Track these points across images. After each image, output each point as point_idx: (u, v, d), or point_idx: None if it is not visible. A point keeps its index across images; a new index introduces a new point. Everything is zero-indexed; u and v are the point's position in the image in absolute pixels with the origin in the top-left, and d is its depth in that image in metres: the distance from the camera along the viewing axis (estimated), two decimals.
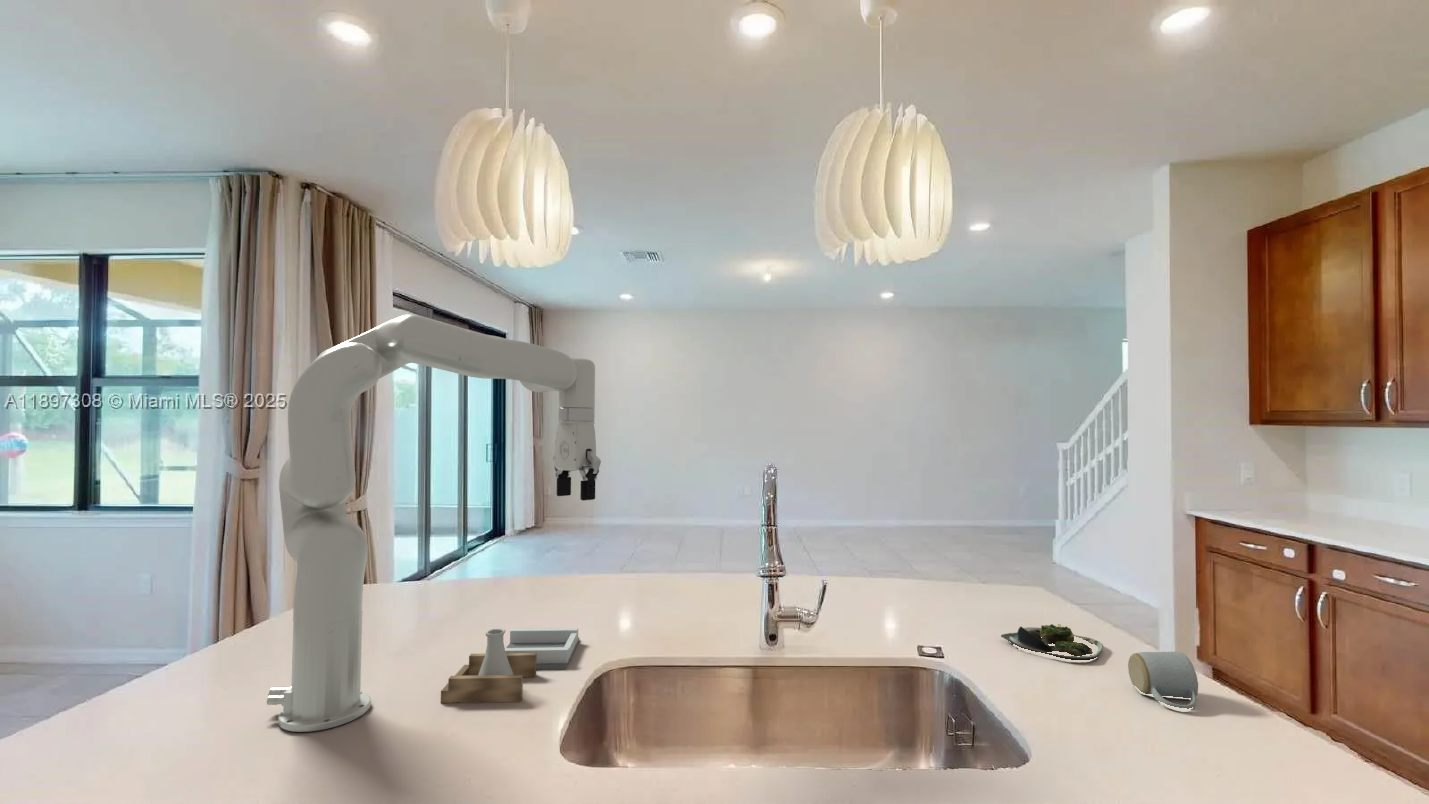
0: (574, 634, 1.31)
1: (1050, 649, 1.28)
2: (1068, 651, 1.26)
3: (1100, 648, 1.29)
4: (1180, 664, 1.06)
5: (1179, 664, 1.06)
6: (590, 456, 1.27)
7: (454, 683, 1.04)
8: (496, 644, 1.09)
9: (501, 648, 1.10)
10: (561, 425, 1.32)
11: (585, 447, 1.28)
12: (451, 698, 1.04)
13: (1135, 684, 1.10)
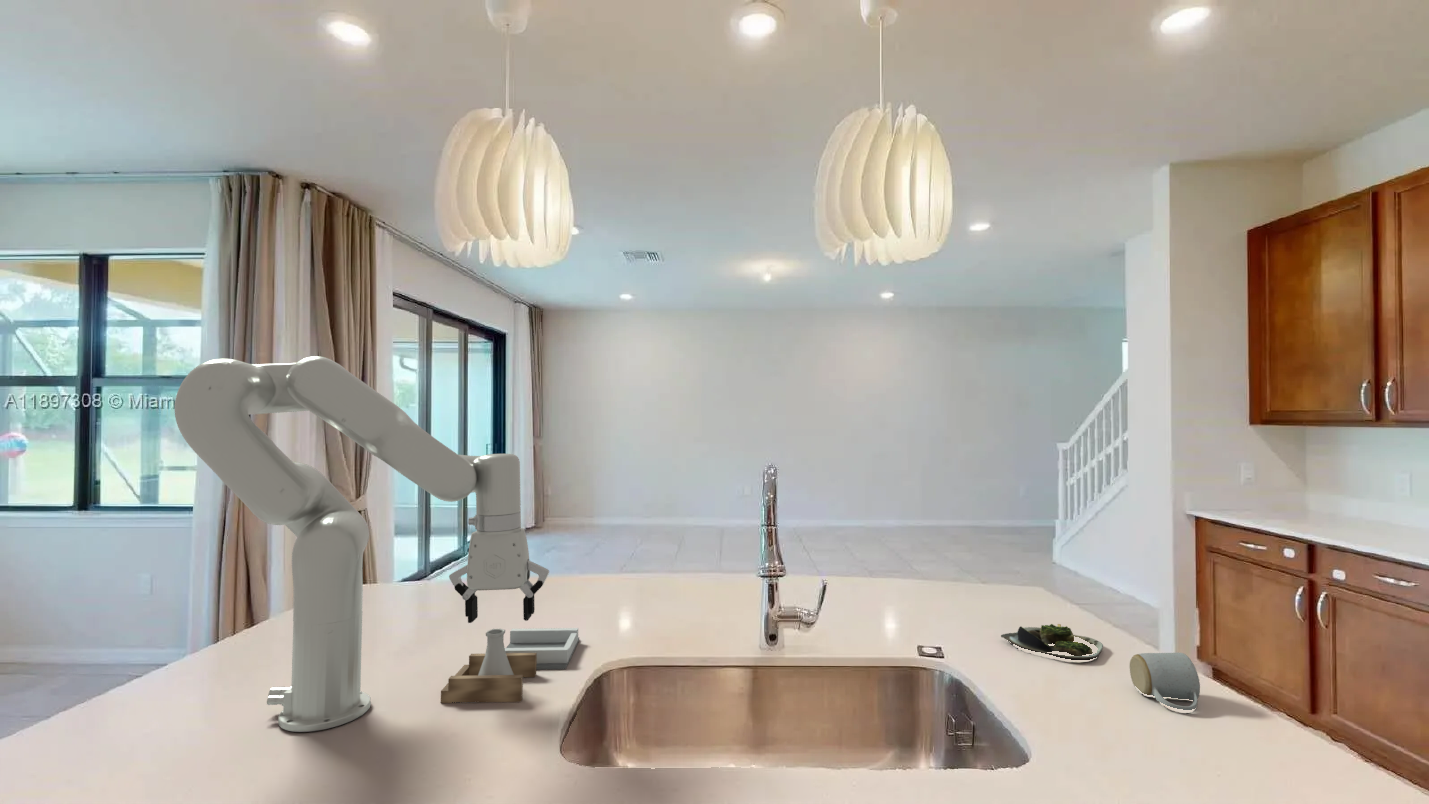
0: (574, 634, 1.31)
1: (1050, 649, 1.28)
2: (1068, 651, 1.26)
3: (1100, 648, 1.29)
4: (1182, 665, 1.06)
5: (1181, 665, 1.06)
6: (536, 568, 1.11)
7: (454, 683, 1.04)
8: (496, 644, 1.09)
9: (501, 648, 1.10)
10: (484, 536, 1.09)
11: (526, 558, 1.11)
12: (451, 698, 1.04)
13: (1136, 685, 1.10)
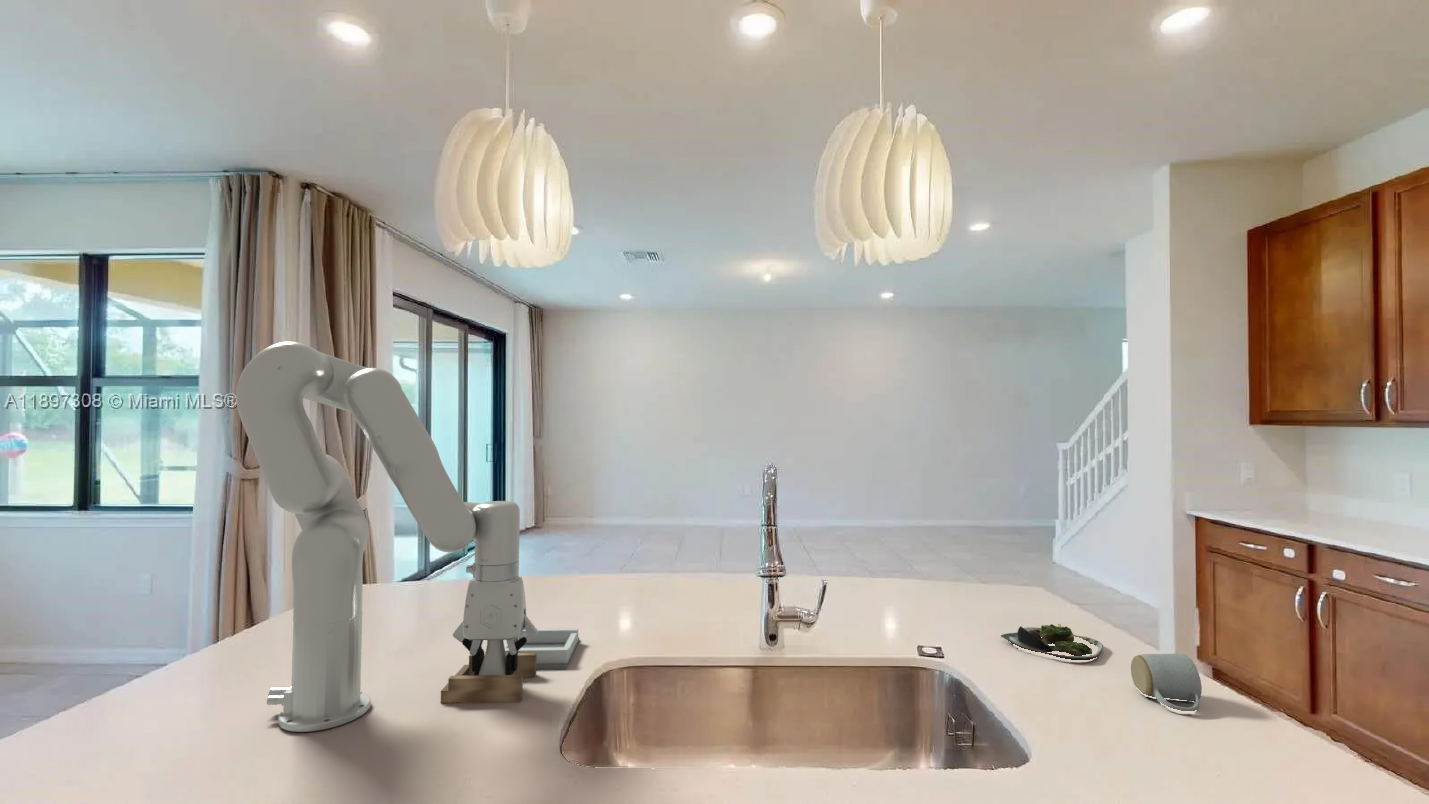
0: (574, 634, 1.31)
1: (1050, 649, 1.28)
2: (1068, 651, 1.26)
3: (1100, 648, 1.29)
4: (1183, 666, 1.05)
5: (1182, 666, 1.05)
6: (527, 624, 1.10)
7: (454, 683, 1.04)
8: (496, 644, 1.09)
9: (501, 648, 1.10)
10: (482, 585, 1.08)
11: (523, 608, 1.10)
12: (451, 698, 1.04)
13: (1138, 686, 1.09)
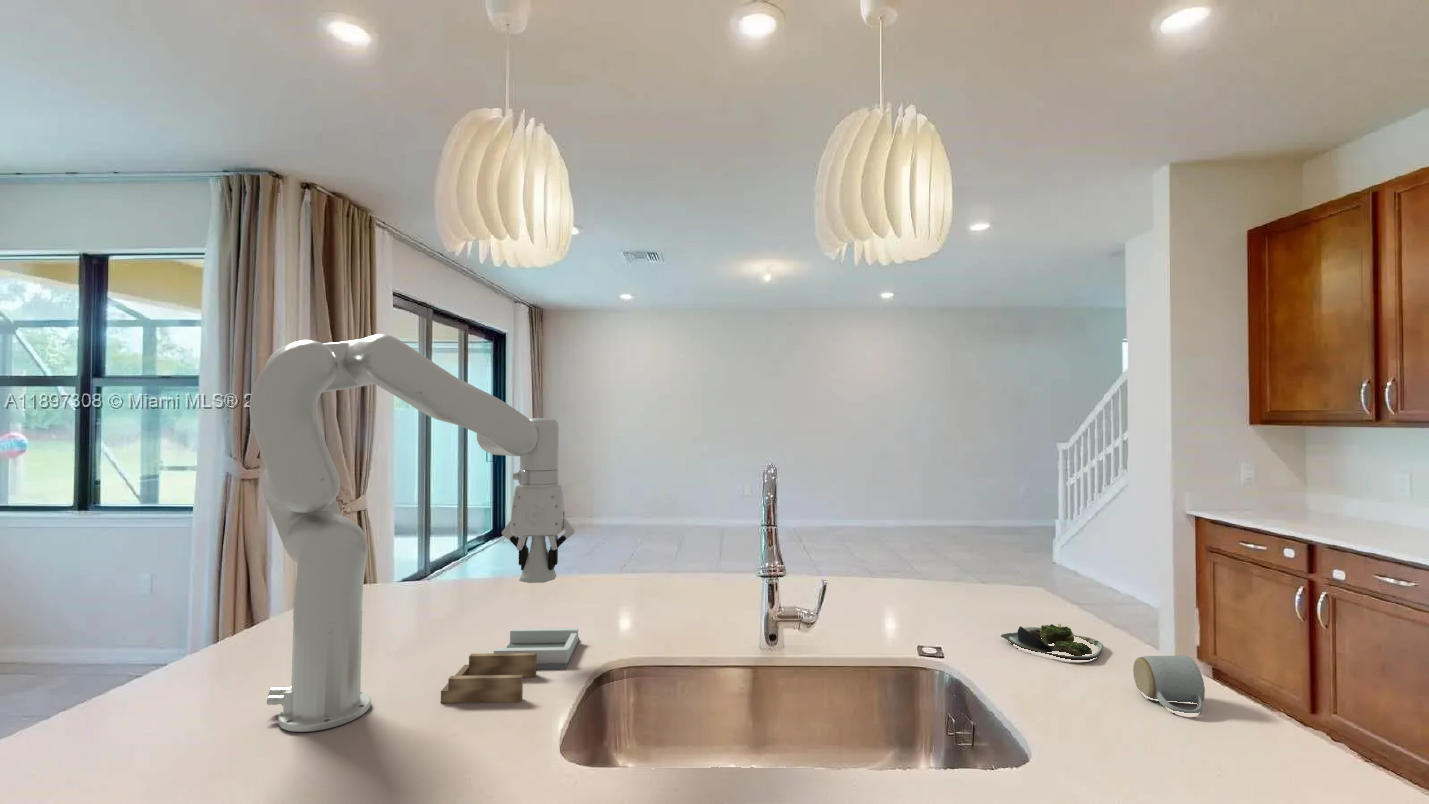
0: (574, 634, 1.31)
1: (1050, 649, 1.28)
2: (1068, 651, 1.26)
3: (1100, 648, 1.29)
4: (1186, 668, 1.04)
5: (1185, 668, 1.05)
6: (566, 524, 1.26)
7: (454, 683, 1.04)
8: (539, 541, 1.25)
9: (544, 544, 1.26)
10: (527, 489, 1.24)
11: (562, 510, 1.26)
12: (451, 698, 1.04)
13: (1140, 688, 1.08)
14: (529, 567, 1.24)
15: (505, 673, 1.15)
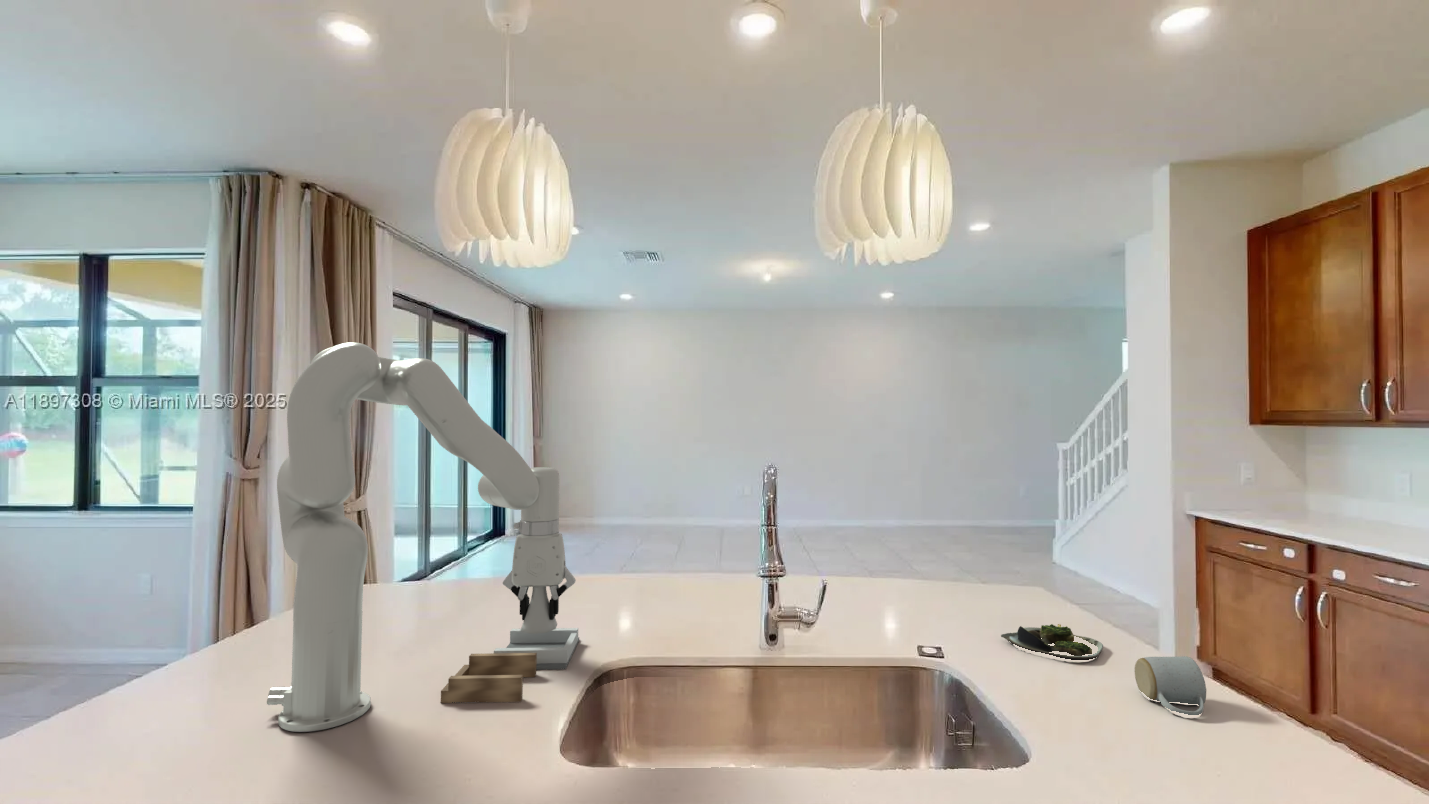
0: (574, 634, 1.31)
1: (1050, 649, 1.28)
2: (1068, 651, 1.26)
3: (1100, 648, 1.29)
4: (1188, 669, 1.04)
5: (1187, 669, 1.04)
6: (567, 574, 1.27)
7: (454, 683, 1.04)
8: (540, 590, 1.26)
9: (544, 594, 1.26)
10: (528, 539, 1.25)
11: (563, 559, 1.27)
12: (451, 698, 1.04)
13: (1141, 689, 1.08)
14: (530, 618, 1.25)
15: (505, 673, 1.15)
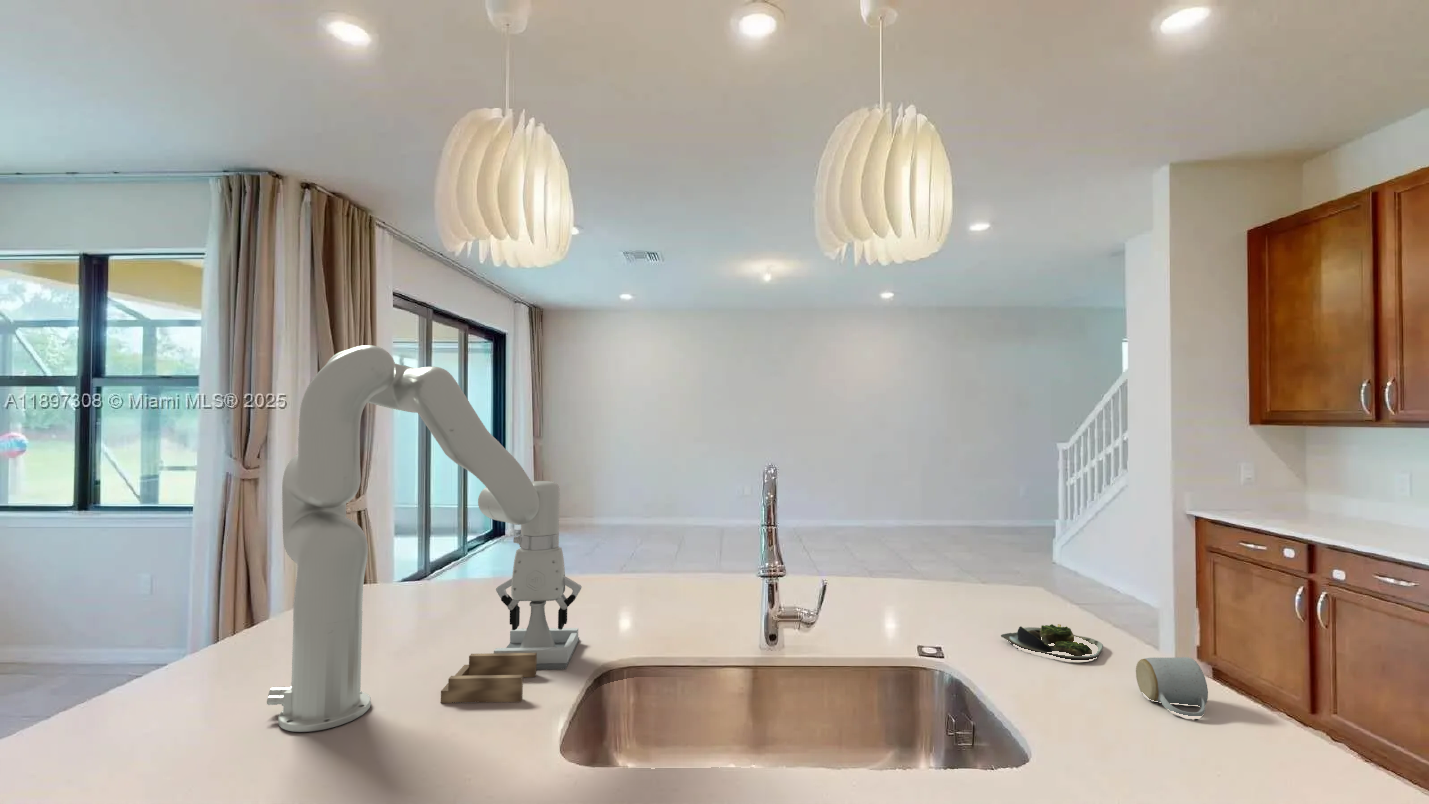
0: (574, 634, 1.31)
1: (1050, 649, 1.28)
2: (1068, 651, 1.26)
3: (1100, 648, 1.29)
4: (1189, 670, 1.04)
5: (1188, 670, 1.04)
6: (571, 583, 1.27)
7: (454, 683, 1.04)
8: (538, 613, 1.25)
9: (543, 616, 1.26)
10: (528, 553, 1.25)
11: (563, 574, 1.27)
12: (451, 698, 1.04)
13: (1143, 690, 1.08)
14: (528, 640, 1.24)
15: (505, 673, 1.15)
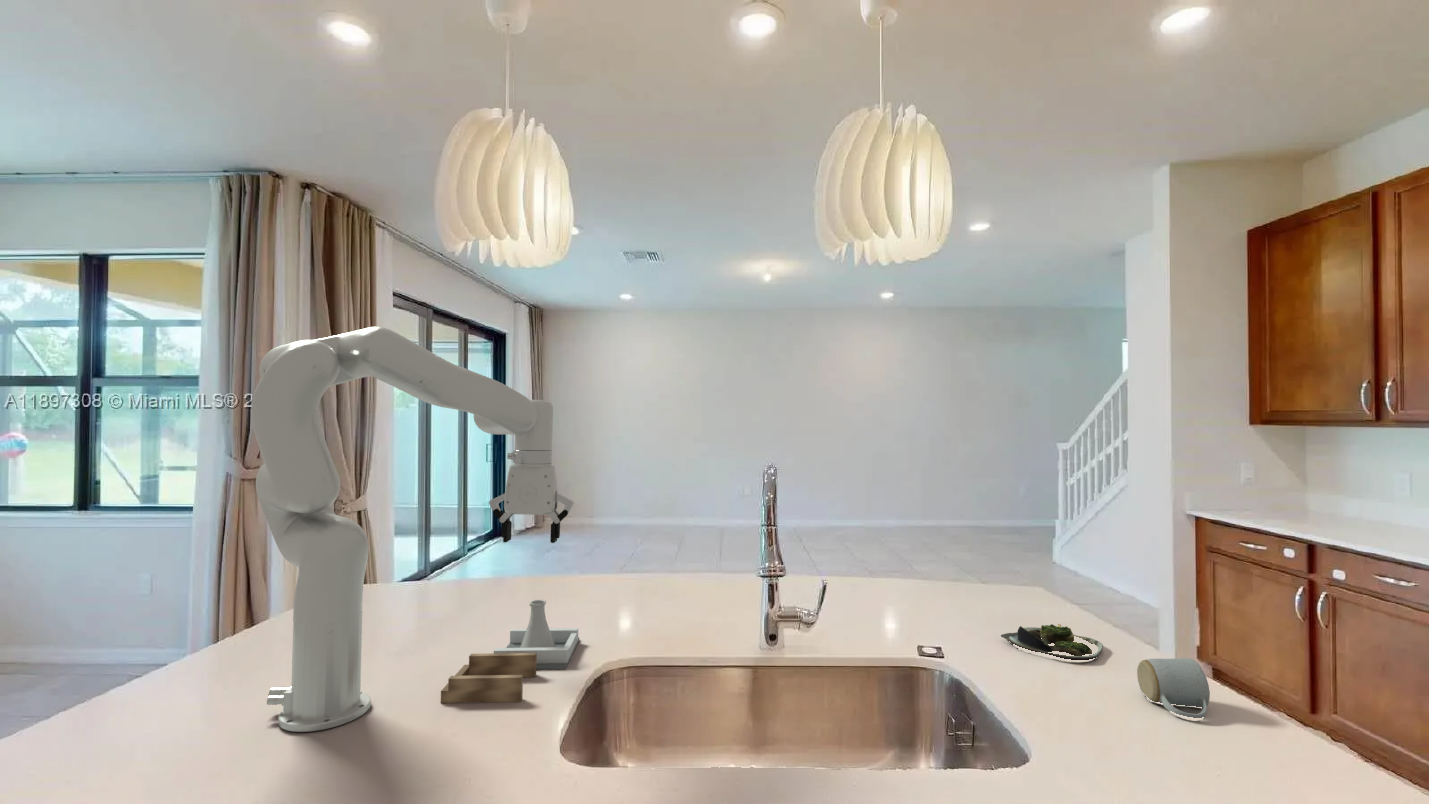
0: (574, 634, 1.31)
1: (1050, 649, 1.28)
2: (1068, 651, 1.26)
3: (1100, 648, 1.29)
4: (1191, 671, 1.03)
5: (1190, 671, 1.03)
6: (563, 498, 1.29)
7: (454, 683, 1.04)
8: (538, 613, 1.25)
9: (543, 616, 1.26)
10: (521, 468, 1.27)
11: (555, 490, 1.29)
12: (451, 698, 1.04)
13: (1144, 692, 1.07)
14: (528, 640, 1.24)
15: (505, 673, 1.15)
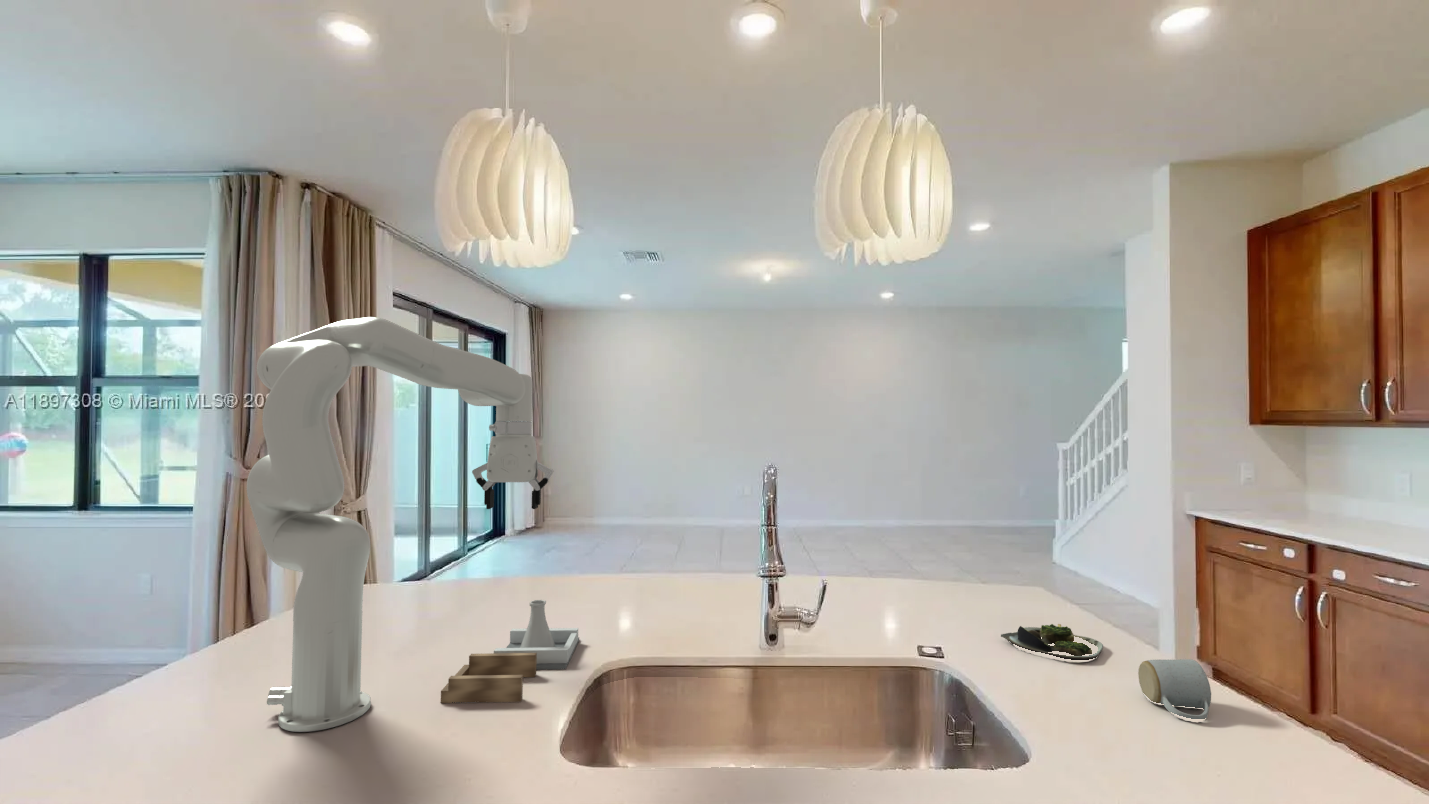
0: (574, 634, 1.31)
1: (1050, 649, 1.28)
2: (1068, 651, 1.26)
3: (1100, 648, 1.29)
4: (1192, 672, 1.03)
5: (1191, 672, 1.03)
6: (543, 467, 1.36)
7: (454, 683, 1.04)
8: (538, 613, 1.25)
9: (543, 616, 1.26)
10: (502, 438, 1.34)
11: (535, 459, 1.36)
12: (451, 698, 1.04)
13: (1145, 693, 1.07)
14: (528, 640, 1.24)
15: (505, 673, 1.15)
